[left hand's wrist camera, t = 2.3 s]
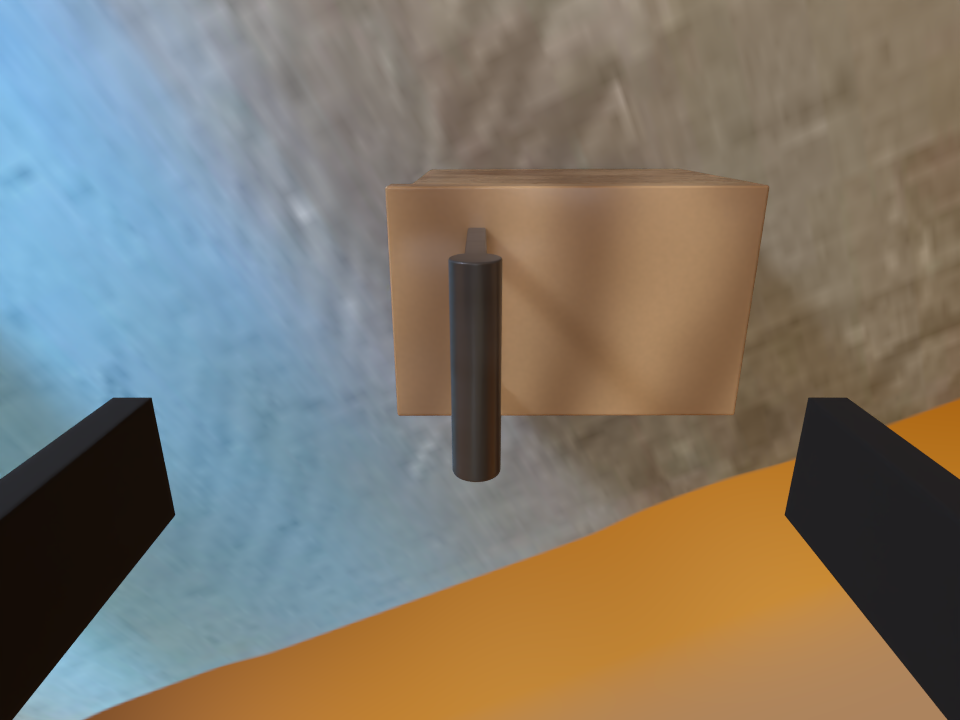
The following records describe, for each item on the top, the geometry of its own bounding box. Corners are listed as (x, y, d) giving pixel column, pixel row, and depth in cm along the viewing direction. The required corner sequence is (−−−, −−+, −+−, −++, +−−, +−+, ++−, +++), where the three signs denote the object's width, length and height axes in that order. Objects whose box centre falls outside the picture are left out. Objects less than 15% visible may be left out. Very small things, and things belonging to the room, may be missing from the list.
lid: (400, 403, 28) (366, 521, 19) (389, 184, 24) (342, 210, 16) (723, 403, 28) (828, 520, 19) (756, 182, 24) (899, 208, 16)
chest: (435, 335, 37) (419, 403, 28) (430, 169, 34) (411, 183, 24) (662, 335, 37) (723, 402, 28) (680, 168, 34) (755, 182, 24)
